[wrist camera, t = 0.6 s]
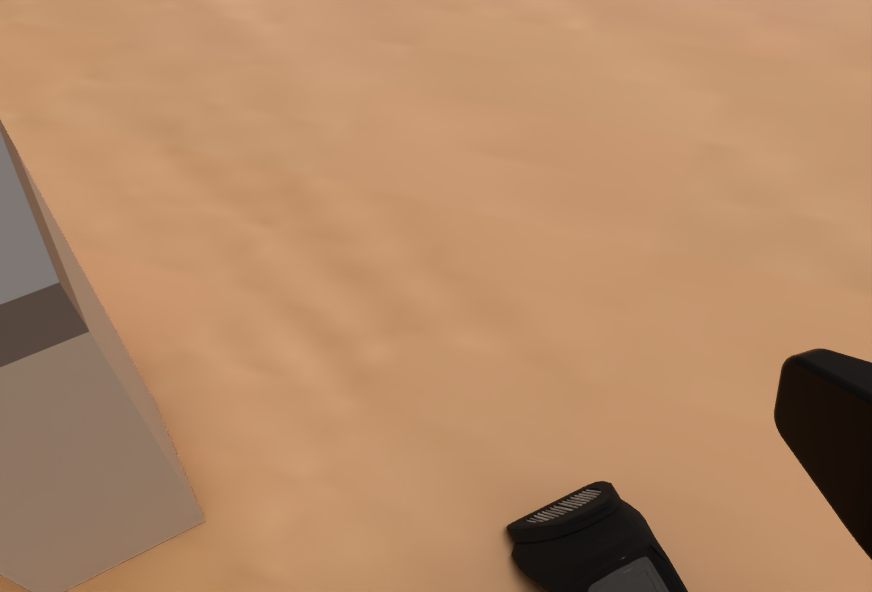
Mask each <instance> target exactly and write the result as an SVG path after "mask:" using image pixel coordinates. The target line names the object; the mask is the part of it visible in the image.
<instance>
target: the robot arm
mask: <svg viewBox="0 0 872 592" xmlns="http://www.w3.org/2000/svg"><path fill="white" fill-rule="evenodd" d="M774 419H775V423H776V427H777V429H778V431H779V433H780V435H781V437H782V438H783V439H784V441H785V442H786V444H787V445H788V446H789V448H790V449H791V451H792V452H793V453H794V455H795V456H796V458H797V459H798V460H799V462H800V463H801V465H802V466H803V468H804V469H805V470H806V472H807V473H808V475H809V476H810V477H811V479H812V480H813V482H814V483H815V484H816V486H817V487H818V489H819V490H820V491H821V493H822V494H823V496H824V497H825V498H826V500H827V501H828V503H829V504H830V505H831V507H832V508H833V510H834V511H835V513H836V514H837V515H838V517H839V518H840V520H841V521H842V522H843V524H844V525H845V527H846V528H847V529H848V531H849V532H850V533H851V535H852V536H853V537H854V539H855V540H856V541H857V543H858V544H859V545H860V546H861V548H862V549H863V550H864V551H865V552H866V554H867V555H868V556H869V557H870V559H871V560H872V363H871V362H868V361H864V360H861V359H858V358H854V357H851V356H847V355H844V354H841V353H837V352H834V351H831V350H827V349H820V348H819V349H813V350H809V351H806V352H803V353H800V354H797V355H793V356H791V357H789V358H787V359H786V361H785V362H784V364H783V365H782V369H781V374H780V380H779V386H778V392H777V398H776V403H775V409H774Z"/></svg>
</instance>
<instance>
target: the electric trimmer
mask: <svg viewBox="0 0 872 592" xmlns="http://www.w3.org/2000/svg"><path fill="white" fill-rule="evenodd" d="M507 529H508V531H509V533H510V535H511V537H512V539H513V540H514V541H515V542H516V543H515V546H514V549H513V551H512V556H513V558H514V560H515V561H516V563H517V564H518V566H519V568H520V569H521V570H522V571H523V572H524V573H525V574H526V575H527V576H528V577H530V578H531V579H533V580H534V581H536V582H537V583H538V584H540V585H541V586H542V587H543V588H545V589H546V590H547V591H548V592H688V591H687V589H686V587H685V586H684V584H683V582H682V580H681V579H680V577H679V575H678V574H677V572H676V570H675V568H674V567H673V565H672V563H671V562H670V560H669V558H668V556H667V555H666V553H665V552H664V550H663V549H662V547H661V546H660V544H659V543H658V541H657V540H656V538H655V537H654V535H653V533H652V531H651V529H650V527H649V525H648V524H647V522H646V520H645V518H644V517H643V516H642V515H641V513H640V512H639V511H637V510H636V509H635V508H633V507H632V506H631V505H629V504H628V503H626V502H625V501H623V500H622V499H620V497H619V495H618V493H617V492H616V490H615V489H614V487H613V485H612V484H611V483H608V482H605V481H599V482H595V483H592V484H589V485H587V486H585V487H583V488H581V489H579V490H577V491H575V492H573V493H571V494H569V495H567V496H565V497H563V498H561V499H559V500H557V501H555V502H553V503H551V504H549V505H547V506H545V507H543V508H541V509H539V510H537V511H535V512H533V513H531V514H529V515H527V516H525V517H523V518H520V519H518V520H516V521H514V522H512V523H511V524H509V525H508V526H507ZM560 536H561V537H560ZM557 537H558V538H557ZM548 539H549V540H548ZM542 540H543V541H542Z"/></svg>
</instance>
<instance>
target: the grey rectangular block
mask: <svg viewBox="0 0 872 592" xmlns="http://www.w3.org/2000/svg"><path fill="white" fill-rule="evenodd" d="M204 521H205V519H204V517H203V514H202V512H201V510H200V507H199V505H198V503H197V500H196V498H195V496H194V493H193V491H192V489H191V486H190V484H189V481H188V479H187V477H186V474H185V472H184V470H183V467H182V465H181V463H180V460H179V458H178V456H177V453H176V451H175V449H174V446H173V444H172V441H171V439H170V437H169V434H168V432H167V430H166V427H165V425H164V423H163V420H162V418H161V416H160V413H159V411H158V409H157V406H156V404H155V401H154V399H153V397H152V394H151V393H150V391H149V389H148V387H147V385H146V384H145V382H144V380H143V378H142V376H141V375H140V373H139V371H138V369H137V367H136V365H135V364H134V362H133V360H132V358H131V356H130V355H129V353H128V351H127V349H126V347H125V345H124V344H123V342H122V340H121V338H120V336H119V335H118V333H117V331H116V329H115V327H114V326H113V324H112V322H111V320H110V318H109V316H108V315H107V313H106V311H105V309H104V307H103V306H102V304H101V302H100V300H99V298H98V296H97V295H96V293H95V291H94V289H93V287H92V286H91V284H90V282H89V280H88V278H87V277H86V275H85V273H84V271H83V269H82V267H81V266H80V264H79V262H78V260H77V258H76V257H75V255H74V253H73V251H72V249H71V247H70V246H69V244H68V242H67V240H66V238H65V237H64V235H63V233H62V231H61V229H60V228H59V226H58V224H57V222H56V220H55V218H54V217H53V215H52V213H51V211H50V209H49V208H48V206H47V204H46V202H45V200H44V198H43V197H42V195H41V193H40V191H39V189H38V188H37V186H36V184H35V182H34V180H33V178H32V177H31V175H30V173H29V171H28V169H27V168H26V166H25V164H24V162H23V160H22V159H21V157H20V155H19V153H18V151H17V149H16V148H15V146H14V144H13V142H12V140H11V139H10V137H9V135H8V133H7V131H6V129H5V128H4V126H3V124H2V122H1V120H0V574H1V575H2V576H4V577H6V578H8V579H9V580H11V581H13V582H15V583H16V584H18V585H20V586H22V587H23V588H25V589H27V590H29V591H30V592H65V591H67V590H69V589H71V588H73V587H75V586H77V585H79V584H81V583H83V582H85V581H87V580H89V579H91V578H93V577H95V576H97V575H99V574H101V573H103V572H105V571H107V570H109V569H111V568H113V567H115V566H117V565H119V564H121V563H123V562H124V561H126V560H128V559H130V558H132V557H134V556H136V555H138V554H140V553H142V552H144V551H146V550H148V549H150V548H152V547H154V546H156V545H158V544H160V543H162V542H164V541H166V540H168V539H170V538H172V537H174V536H176V535H178V534H180V533H182V532H184V531H186V530H188V529H190V528H192V527H194V526H196V525H198V524H200V523H202V522H204Z"/></svg>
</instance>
